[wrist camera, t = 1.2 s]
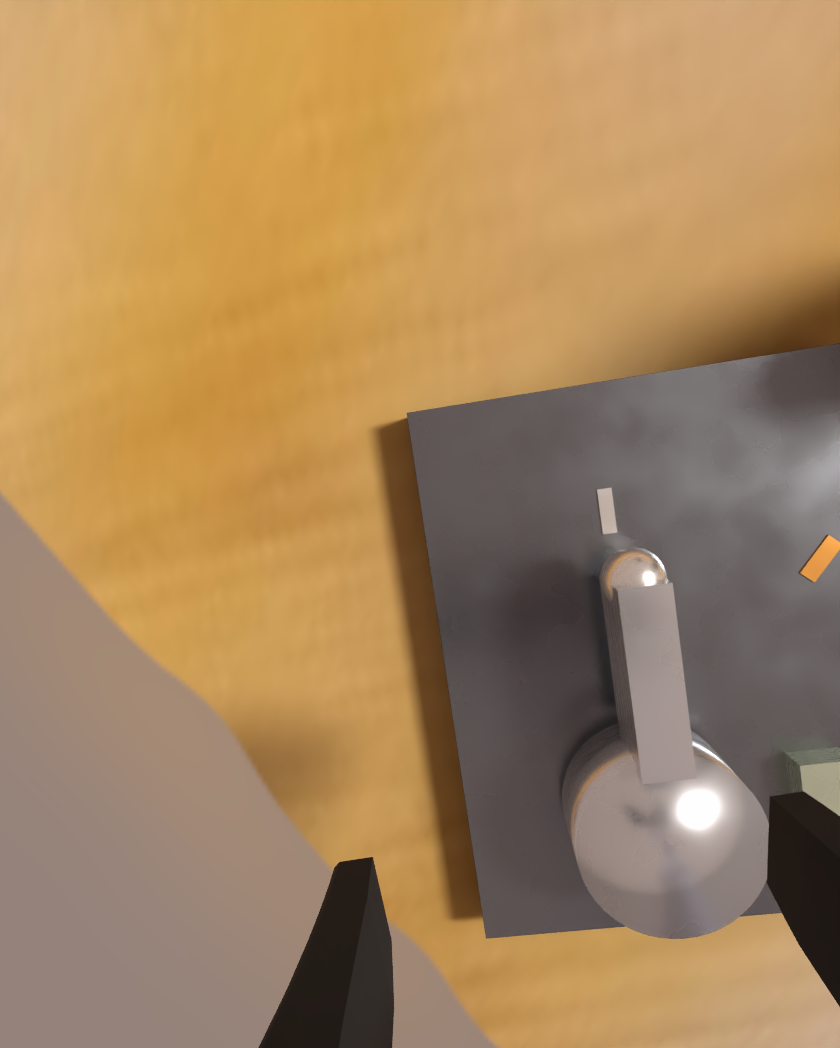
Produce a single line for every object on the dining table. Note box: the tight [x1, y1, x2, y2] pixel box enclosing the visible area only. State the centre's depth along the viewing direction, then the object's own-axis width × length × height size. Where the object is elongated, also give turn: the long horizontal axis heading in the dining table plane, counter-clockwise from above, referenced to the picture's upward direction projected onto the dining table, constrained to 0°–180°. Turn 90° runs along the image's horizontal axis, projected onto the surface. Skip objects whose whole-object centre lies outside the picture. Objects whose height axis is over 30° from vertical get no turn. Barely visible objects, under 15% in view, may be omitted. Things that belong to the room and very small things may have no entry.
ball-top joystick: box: [562, 547, 769, 939], centre depth 21 cm, size 12×6×4 cm, turn 9°
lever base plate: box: [407, 343, 840, 939], centre depth 23 cm, size 20×15×2 cm
